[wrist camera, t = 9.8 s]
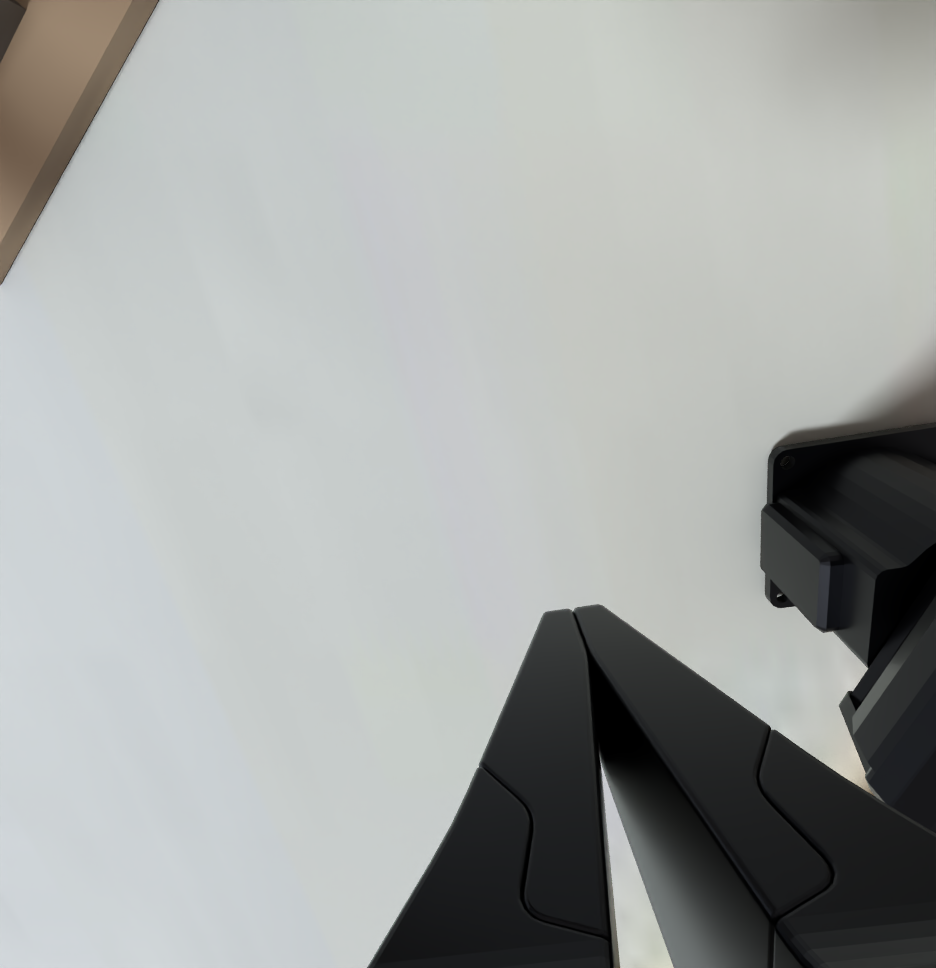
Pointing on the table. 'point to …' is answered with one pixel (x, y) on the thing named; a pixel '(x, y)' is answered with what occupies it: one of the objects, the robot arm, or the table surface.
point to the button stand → (52, 95)
